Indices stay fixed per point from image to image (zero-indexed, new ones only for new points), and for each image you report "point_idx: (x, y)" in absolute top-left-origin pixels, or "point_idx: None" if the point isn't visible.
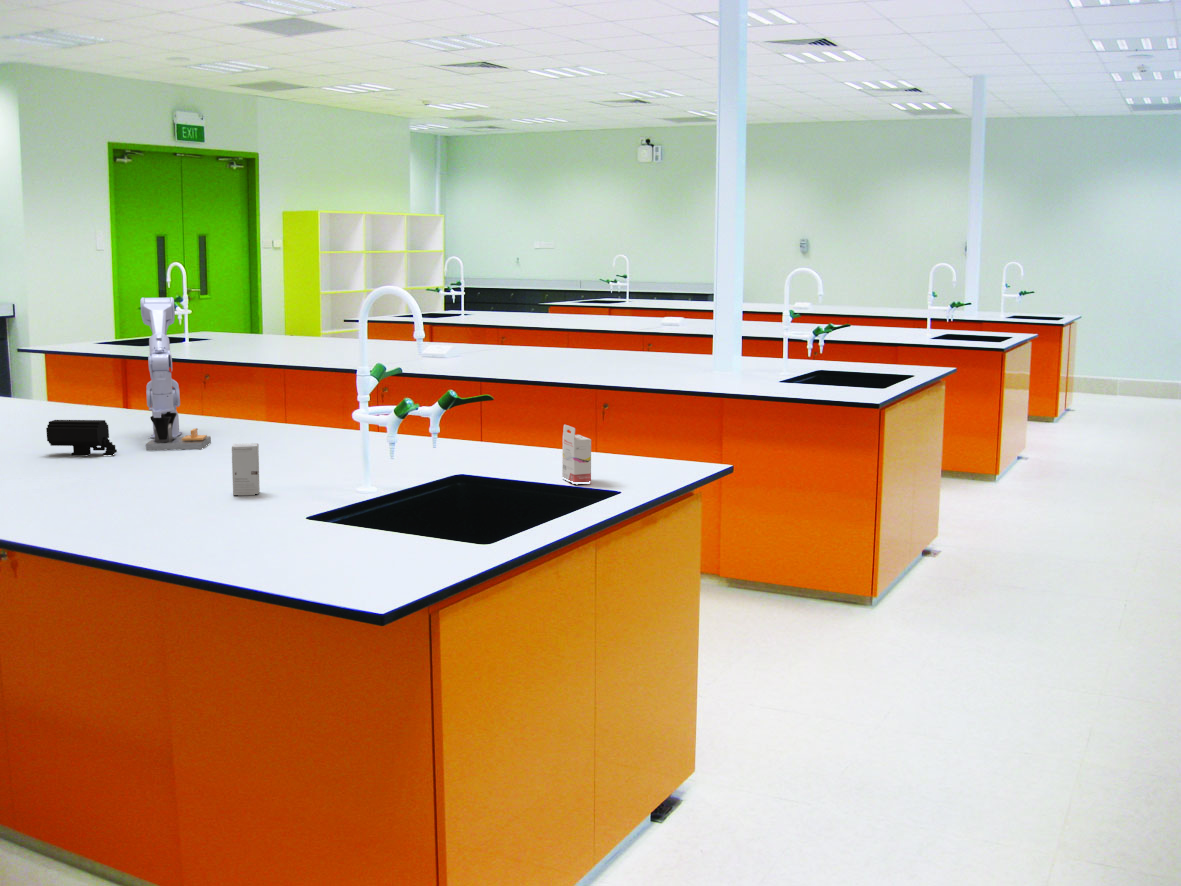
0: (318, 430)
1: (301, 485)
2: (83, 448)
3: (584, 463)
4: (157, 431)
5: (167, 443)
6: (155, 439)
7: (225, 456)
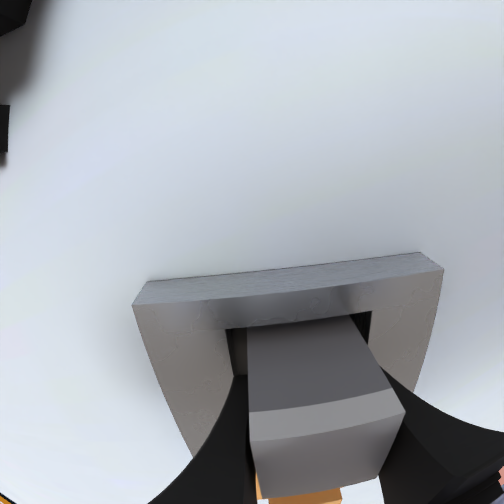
0: None
1: (15, 493)
2: None
3: None
4: (217, 424)
5: (173, 414)
6: (248, 347)
7: (118, 496)
